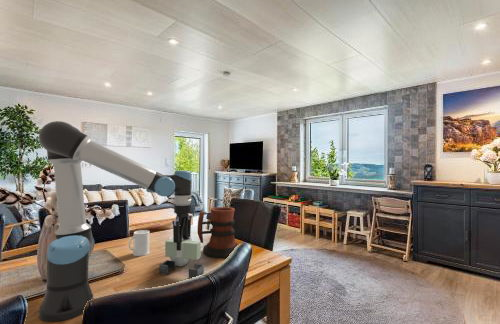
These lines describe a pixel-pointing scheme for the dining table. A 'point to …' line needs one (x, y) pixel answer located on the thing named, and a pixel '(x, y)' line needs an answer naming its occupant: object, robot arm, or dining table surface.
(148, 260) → the dining table surface
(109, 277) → the dining table surface
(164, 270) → the cap far
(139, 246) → the mug
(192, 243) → the pale green long block
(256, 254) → the dining table surface
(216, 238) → the tankard
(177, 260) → the mug
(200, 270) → the cap near
